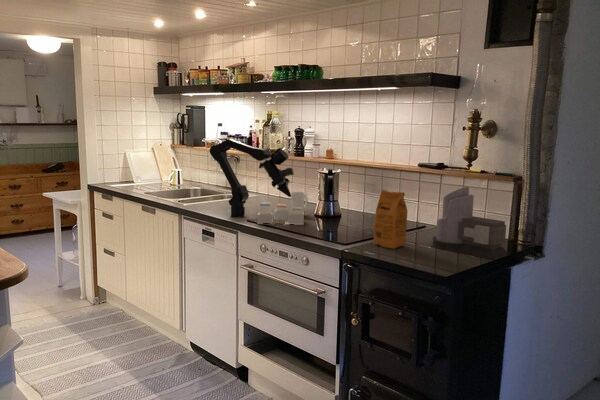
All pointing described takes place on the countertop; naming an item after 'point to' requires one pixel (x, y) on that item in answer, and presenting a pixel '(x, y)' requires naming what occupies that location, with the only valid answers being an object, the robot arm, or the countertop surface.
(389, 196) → the coffee package
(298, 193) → the mug
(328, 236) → the countertop surface
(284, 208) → the key terracotta
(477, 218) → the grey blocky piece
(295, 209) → the key sage
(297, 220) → the keypad
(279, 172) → the robot arm
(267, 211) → the key slate
